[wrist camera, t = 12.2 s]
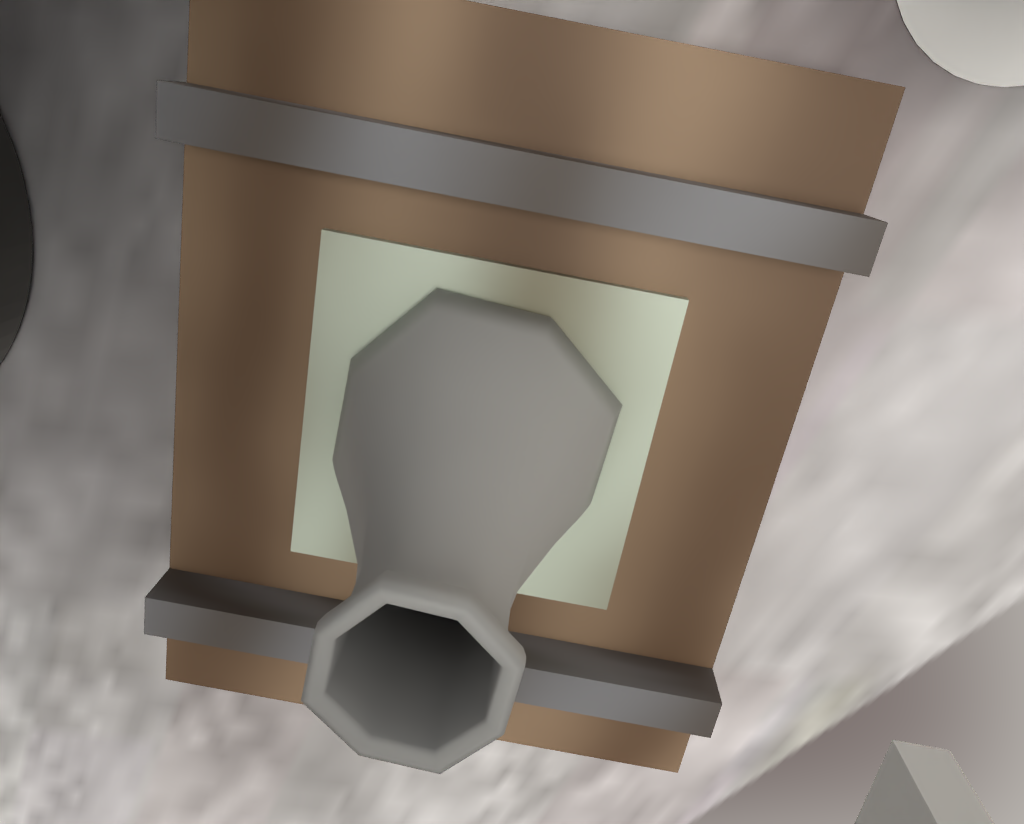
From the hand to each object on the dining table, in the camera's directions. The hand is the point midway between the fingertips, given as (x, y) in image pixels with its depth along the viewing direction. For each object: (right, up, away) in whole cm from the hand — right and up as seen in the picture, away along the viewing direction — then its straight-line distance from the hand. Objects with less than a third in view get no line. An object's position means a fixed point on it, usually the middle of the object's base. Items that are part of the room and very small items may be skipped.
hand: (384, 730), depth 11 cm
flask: (+1, +4, +11) cm, 11 cm away
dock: (+1, +5, +13) cm, 14 cm away
